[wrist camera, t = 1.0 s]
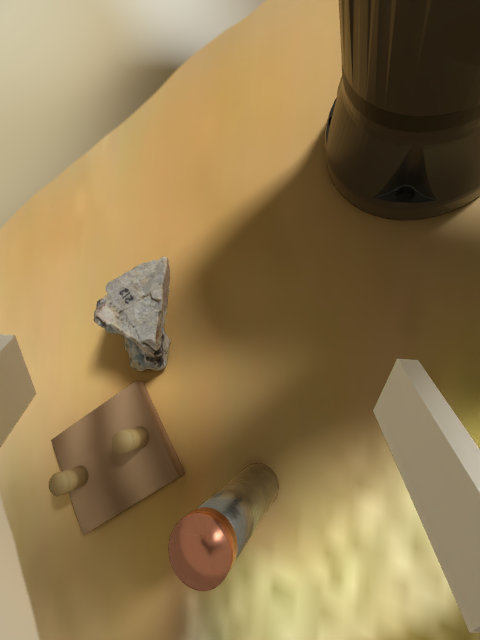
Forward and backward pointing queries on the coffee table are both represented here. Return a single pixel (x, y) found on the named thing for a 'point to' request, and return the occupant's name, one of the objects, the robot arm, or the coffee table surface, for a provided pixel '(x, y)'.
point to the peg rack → (114, 457)
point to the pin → (221, 528)
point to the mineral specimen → (139, 313)
